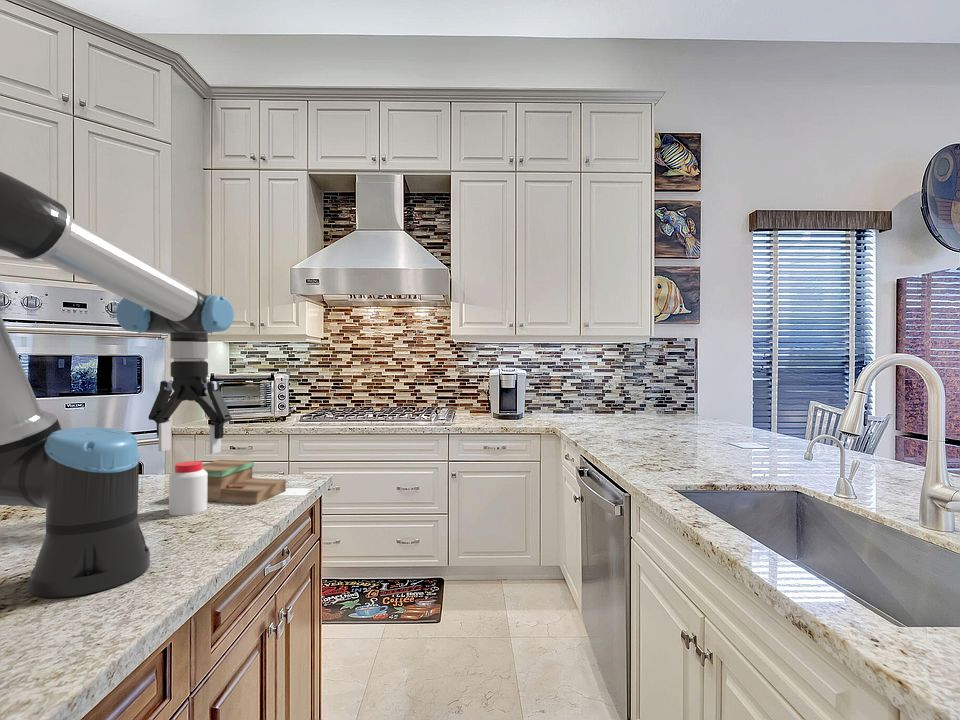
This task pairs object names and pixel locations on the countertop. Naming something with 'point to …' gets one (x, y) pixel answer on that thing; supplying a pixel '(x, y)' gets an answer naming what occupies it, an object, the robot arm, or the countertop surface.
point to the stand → (239, 483)
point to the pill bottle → (188, 489)
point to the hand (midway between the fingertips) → (189, 451)
